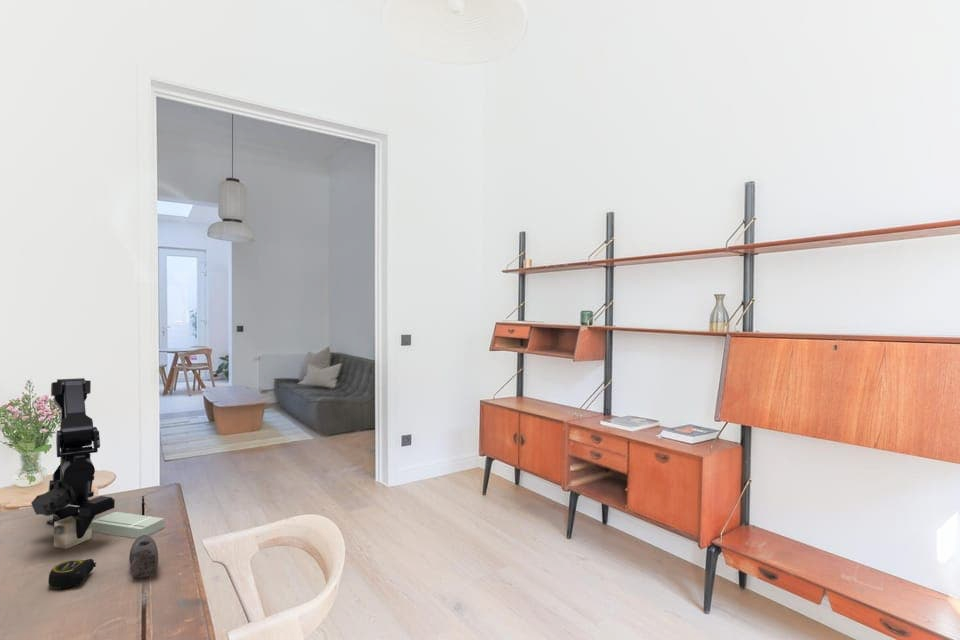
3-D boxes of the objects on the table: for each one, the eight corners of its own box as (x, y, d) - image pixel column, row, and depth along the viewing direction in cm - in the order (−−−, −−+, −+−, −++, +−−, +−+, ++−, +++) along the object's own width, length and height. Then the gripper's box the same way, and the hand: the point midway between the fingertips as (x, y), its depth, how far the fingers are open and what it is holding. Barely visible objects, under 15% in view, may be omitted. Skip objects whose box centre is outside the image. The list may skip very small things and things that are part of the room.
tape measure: (81, 589, 101) (81, 571, 101) (40, 594, 99) (41, 575, 99) (95, 573, 107) (96, 556, 107) (58, 577, 105) (59, 559, 105)
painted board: (90, 531, 127) (90, 521, 127) (115, 520, 134) (115, 511, 134) (140, 538, 124) (141, 528, 124) (164, 527, 130) (164, 518, 130)
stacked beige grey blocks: (49, 548, 117) (50, 523, 117) (82, 534, 125) (83, 511, 125) (62, 550, 116) (63, 525, 116) (95, 536, 124) (95, 513, 124)
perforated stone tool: (128, 557, 114) (129, 528, 114) (155, 552, 117) (156, 523, 117) (128, 587, 102) (129, 554, 102) (158, 580, 105) (159, 548, 105)
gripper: (9, 480, 115) (6, 546, 115) (71, 489, 111) (69, 557, 111) (58, 467, 126) (56, 527, 126) (117, 474, 122) (115, 536, 122)
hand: (73, 536), depth 121 cm, fingers closed on stacked beige grey blocks, 4 cm apart
